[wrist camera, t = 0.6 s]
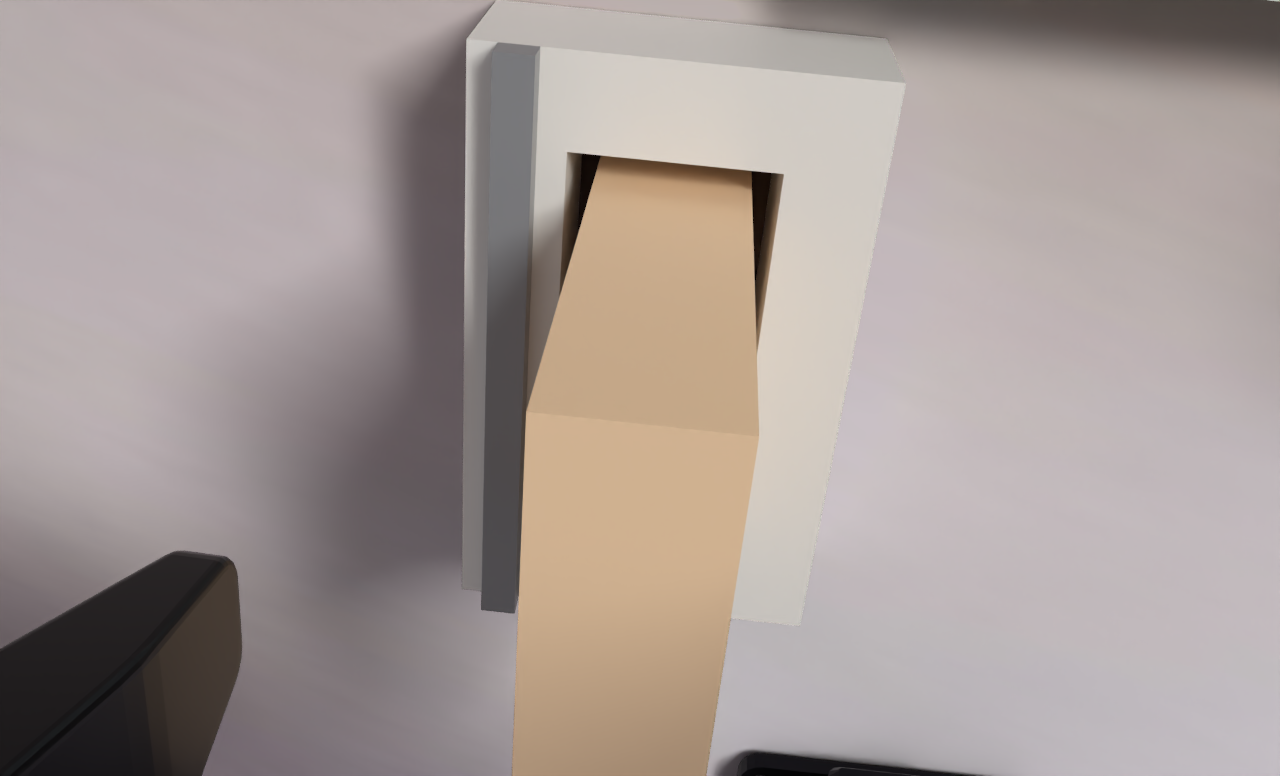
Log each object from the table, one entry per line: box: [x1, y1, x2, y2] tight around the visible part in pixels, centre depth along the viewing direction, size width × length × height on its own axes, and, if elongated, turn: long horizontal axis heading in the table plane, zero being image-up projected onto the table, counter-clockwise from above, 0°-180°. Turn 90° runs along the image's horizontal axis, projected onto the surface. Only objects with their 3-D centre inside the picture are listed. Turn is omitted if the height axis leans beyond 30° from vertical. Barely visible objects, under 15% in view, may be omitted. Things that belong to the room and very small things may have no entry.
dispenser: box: [462, 0, 906, 626], centre depth 20 cm, size 10×6×3 cm, turn 175°
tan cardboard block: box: [512, 155, 759, 776], centre depth 18 cm, size 6×2×9 cm, turn 175°
